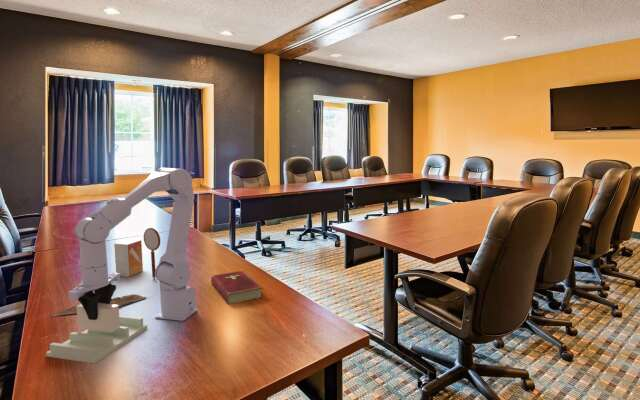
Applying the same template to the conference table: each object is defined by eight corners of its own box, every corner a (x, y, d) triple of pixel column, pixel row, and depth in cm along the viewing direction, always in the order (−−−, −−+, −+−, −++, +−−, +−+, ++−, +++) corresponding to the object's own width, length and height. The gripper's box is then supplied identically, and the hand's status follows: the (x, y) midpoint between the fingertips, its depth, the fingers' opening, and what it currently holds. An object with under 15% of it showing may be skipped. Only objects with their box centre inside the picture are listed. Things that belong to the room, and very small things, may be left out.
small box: (129, 277, 150) (127, 244, 148) (115, 275, 151) (113, 243, 149) (143, 270, 157) (141, 239, 156) (130, 269, 159) (128, 238, 157)
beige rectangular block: (120, 327, 100) (118, 305, 99) (111, 332, 97) (109, 309, 96) (87, 323, 102) (85, 301, 101) (78, 328, 99) (76, 306, 98)
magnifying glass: (163, 280, 146) (160, 228, 143) (159, 281, 144) (157, 229, 142) (148, 276, 150) (145, 226, 147) (144, 278, 149) (141, 227, 146)
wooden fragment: (144, 293, 133) (144, 290, 133) (148, 304, 124) (147, 301, 124) (54, 309, 121) (54, 306, 121) (51, 322, 111) (50, 319, 111)
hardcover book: (227, 306, 124) (227, 293, 123) (211, 285, 142) (210, 274, 141) (262, 298, 129) (262, 286, 129) (242, 280, 148) (242, 269, 147)
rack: (147, 328, 107) (146, 317, 107) (95, 363, 90) (94, 351, 89) (104, 322, 110) (104, 312, 110) (46, 356, 93) (45, 344, 92)
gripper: (103, 256, 105) (106, 303, 107) (56, 272, 91) (60, 327, 93) (125, 258, 104) (128, 306, 105) (80, 275, 90) (85, 330, 91)
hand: (98, 316), depth 99 cm, fingers closed on beige rectangular block, 3 cm apart
